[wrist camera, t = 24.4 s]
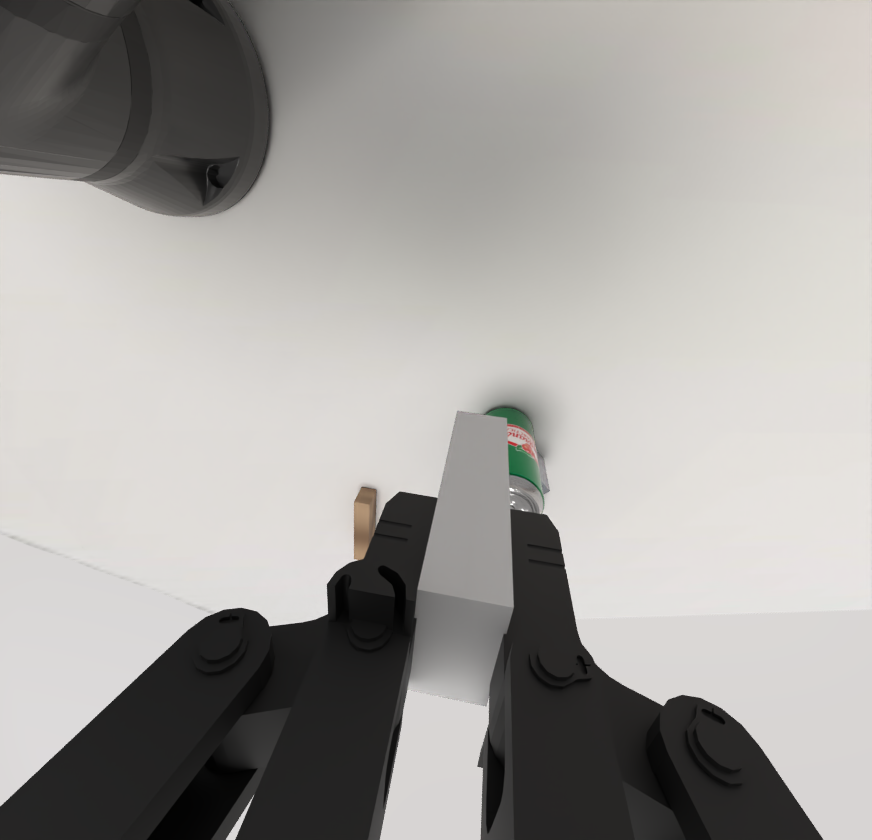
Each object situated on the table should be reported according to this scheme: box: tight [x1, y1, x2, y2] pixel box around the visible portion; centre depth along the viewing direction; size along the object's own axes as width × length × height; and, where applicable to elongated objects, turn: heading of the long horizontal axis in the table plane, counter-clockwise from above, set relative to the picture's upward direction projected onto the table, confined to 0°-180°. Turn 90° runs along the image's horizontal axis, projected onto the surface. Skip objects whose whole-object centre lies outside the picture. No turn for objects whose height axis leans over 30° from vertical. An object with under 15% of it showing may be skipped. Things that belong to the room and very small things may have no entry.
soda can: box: [486, 408, 544, 514], centre depth 32 cm, size 5×5×12 cm
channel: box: [354, 487, 376, 560], centre depth 42 cm, size 8×13×2 cm, turn 84°
